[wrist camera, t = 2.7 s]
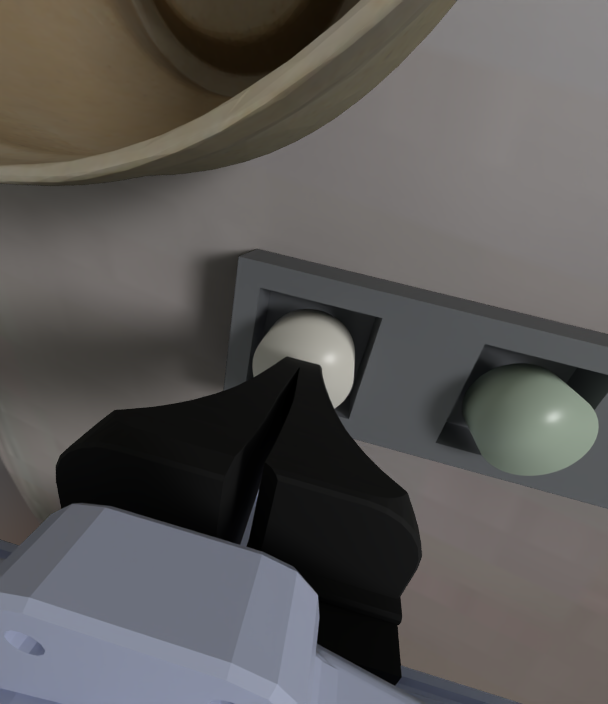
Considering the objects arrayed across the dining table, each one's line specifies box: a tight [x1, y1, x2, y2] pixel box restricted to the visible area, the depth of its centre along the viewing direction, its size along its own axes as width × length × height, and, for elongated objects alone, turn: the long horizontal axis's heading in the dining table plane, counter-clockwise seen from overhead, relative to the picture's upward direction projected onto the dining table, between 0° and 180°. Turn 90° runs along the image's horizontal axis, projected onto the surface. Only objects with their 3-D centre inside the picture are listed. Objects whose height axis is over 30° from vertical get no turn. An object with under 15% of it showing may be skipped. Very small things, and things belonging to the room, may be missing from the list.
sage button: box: [462, 363, 599, 476], centre depth 13 cm, size 4×4×2 cm
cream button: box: [252, 309, 355, 409], centre depth 13 cm, size 4×4×2 cm
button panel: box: [223, 249, 608, 509], centre depth 14 cm, size 25×7×2 cm, turn 78°
